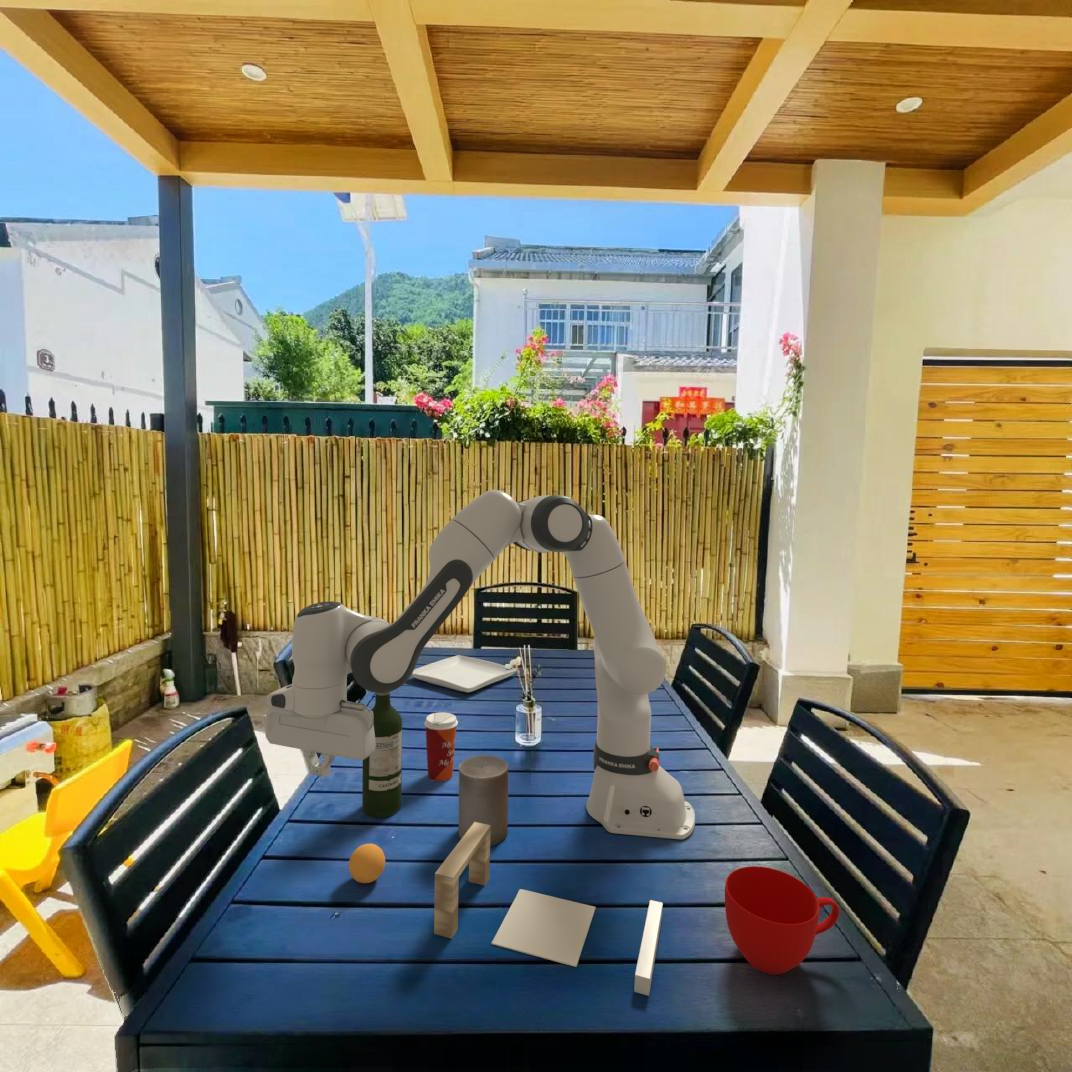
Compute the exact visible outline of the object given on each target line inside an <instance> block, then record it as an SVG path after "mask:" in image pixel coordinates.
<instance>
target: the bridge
mask: <svg viewBox="0 0 1072 1072" xmlns="http://www.w3.org/2000/svg"><path fill="white" fill-rule="evenodd" d="M490 832H491V825H487V824H482V823H477V822H474V823H473V825H472V826H471V827H470V828H469V830H468V831H467V832H466V834H465V835H464V836H463V838H462V839H460V840H459V842H458V843H457V844H456V845H455V847H454V848H453V849H452V851H451V852H450V853H449V854H448V856H447V857H446V858H445V860H444V861H443V862H442V863H441V865H440V866H439V867H438V869H437V870H436V871H435V873H434V906H433V907H434V908H433V909H434V913H433V915H434V917H433V934H434V935H436V936H441V937H445V938H449V939H453V938H454V936H455V935H456V934H457V931H458V930H459V929H458V927H459V879H460V877H461V875H462V874H463V872H464V870H465V869H466V867H467V866H468V882H469V883H473V884H476V885H477V884H478V885H481V886H486V885H487V883H488V881H489V880H490V868H491V867H490V866H491V861H490V860H491V846H490Z"/></svg>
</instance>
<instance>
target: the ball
mask: <svg viewBox="0 0 1072 1072" xmlns="http://www.w3.org/2000/svg"><path fill="white" fill-rule="evenodd" d="M385 866H386V857H385V853H384V851H383V849H382V848H381V847H380V846H378V845H377V844H374V843H365V844H362V845H359V846H358V847H357V848H355V850H354V851H353V852H352V854H351V855H350V858H349V861H348V869H349V870H348V871H349V873H350V875H351V878H352V879H354V880H355V881H356V882H358V883H361V884H370V883H372V882H374V881H376V880H377V879H378V878H379V877H380V876H381V875H382V873H383V872H384V871H385V870H384V869H385Z"/></svg>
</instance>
